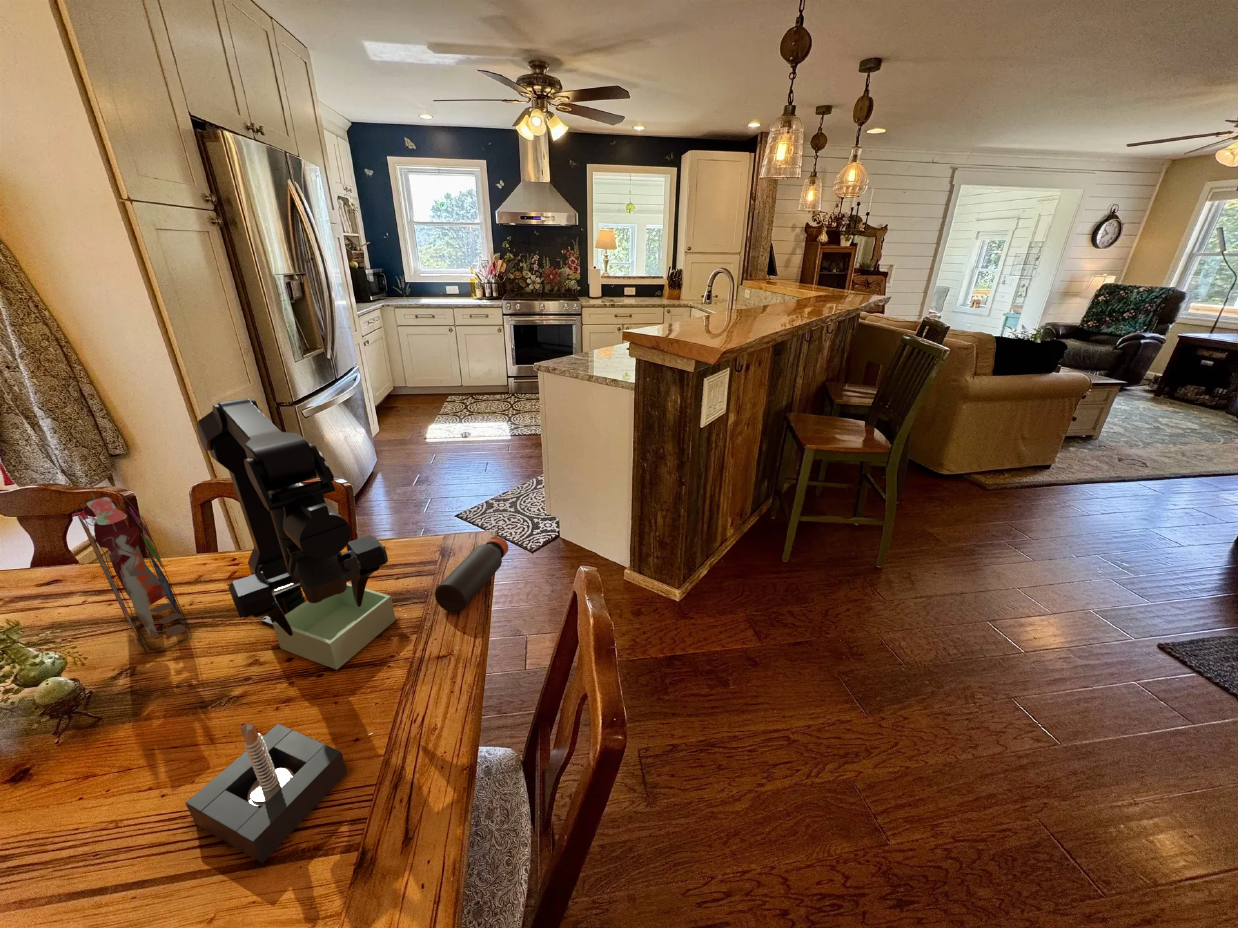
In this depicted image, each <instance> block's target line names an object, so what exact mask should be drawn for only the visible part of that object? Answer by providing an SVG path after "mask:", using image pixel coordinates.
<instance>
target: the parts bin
mask: <svg viewBox="0 0 1238 928" xmlns="http://www.w3.org/2000/svg"><path fill="white" fill-rule="evenodd" d="M285 617H286V619H287V621H288V623H289V625H290V627H291V629H292V632H293V635H292V636H289V635H288V634H287V633H286V632H285V631H284V630H283V629H282V628H281V627H280V626H279V625H278V624H277V623H276V622H274V623H272V624H273V626H272V627H273V630H274V633H275V635H276V639H277V642H278V645H279V648H280V650H284V651H286V652H289V653H291V654H294V655H296V656H299V657H302V658H305V659H307V660H310V661H312V662H315V663H318V664H319V665H320V664H321V665H323V666H325V667H328V668H331V669H333V670H339V669H340V668H341V667H342V666H343V665H344V664H345V663H348V661H350V660H351V659H352V658H353V657H354V656H355V655H356V654H357V653H359V652H360V651H361V650H362V649H363V648H364V647H366V646H367V645H368V644H370V642H372V641H373V640H374V639H375V638H376V637H378V635H380V634H381V633H383V632H384V631H385V630H386V629H387V628H389V626H390V625H392V624H393V623H394V622H395V621H396V619H397V618H396V614H395V610H394V605H393V599H392V596H391V595H389V594H385V593H381V592H379V591H375V590H373V589H369V588H366V587H365V591H364V595H363V600H362V604H361V606H360V607H358V606H357V605H356V602H355V599H354V596H353V590H352V584H351V583H349V582H347V589H346V590H345V591H344V592H343V593H341V594H336V595H333V596H331V597H328V598H326V599H323V600H322V601H321V602H318V603H310V602H308V601H307V600H305V602H304V603H302V604H301V605H299V606H298V607H296V608H295V609H293V610H292V611H290V612H289V613H287V614H286V615H285Z"/></svg>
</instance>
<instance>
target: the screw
mask: <svg viewBox="0 0 1238 928" xmlns="http://www.w3.org/2000/svg"><path fill="white" fill-rule="evenodd" d="M240 730H241V733H242V735H243V738H244V740H245V742H244V745H243V746H244V749H245V751H247V754H248V757H249V758H250V759H249V760H250V761H251V764H252V767H253V768H254V769H253V770H254V771H255V774H256V777H257V780H256V781H255V782H254V784H253V785H252V786H251V788H250V790H249V792H248V799H247V802H249V803H251V804H253V805H255V806H257V807H258V808H261V807H262V806H263V805H264V804H265V803H266V802H267V801H268V800H269V799H270V798H271V797H272V796H273V795H274V794H275V793H276V792H277V791H278V790H279V789H280V788H281V787H282V786H284V785H285V784H286V783H287V782H288V781H289V780H290V779H291V778H292V777H293V776H294V775H295V774H293V772H292V771H291V770H290V769H288V768H277V769H275V768H274V765H273V763H272V760H271V757H270V755H269V752H268V750H267V747H266V744H265V741H264V740H263V736H262V734H261V733H259V732H258V730H257V728H256V725H255V724H254V723H253V724H252V723H251V724H250V723H249V722H247V723H245V724H243V725H242V726H241V727H240Z"/></svg>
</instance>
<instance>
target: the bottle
mask: <svg viewBox="0 0 1238 928" xmlns="http://www.w3.org/2000/svg"><path fill="white" fill-rule="evenodd" d="M508 552H509V544H508V542H507V541H506V539H504V538H503V537H501V536H497V535H496V536H492V537H491V538H490V539H489V540H488V541H487V542H486V543H484V544H479V545H477V546H476V547H475V548H474V549H473V550H472V551H471V552H470V553H469V554H468V555H467V556H466V557H465V558H464V559H463V560H462V561H461V562H460V563H459V564H458V565H457V566H456V567H455V568H454V569H453V570H452V571H451V572H450V573H449V574H448V575H447V576H446V577H445V578H444V579H443V581H442V582H441V583H439V584H438V586H437V587H436V588H435V591H434V599H435V601H436V604H437V605H438V606H439V607H440V608H442V609H443V610H444V611H446V612H447V613H451V614H460V613H462V612H464V611H465V609H466V608H467V607H468V606H469V605H470V603H472V601H473V600H474V599H475V598H476V596H477V595H478V594H479V593H480V592H481V591H482V589H483V588H484V587H485V586H486V585H487V583H488V582H490V580H491V579H492V577H493V576H495V574H496V573H497V572H498V570H500V568H501V567H502V563H503V558H504V557H505V556H506V555H507V553H508Z"/></svg>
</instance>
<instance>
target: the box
mask: <svg viewBox="0 0 1238 928" xmlns="http://www.w3.org/2000/svg"><path fill="white" fill-rule="evenodd" d="M90 494H91V496H92V498H89V499H86V500H84V501H82V502H80V503H79V504H78V508H79V510H80V512H81V515H82V517H83V518H82V517H81V515H80V514H79V512H78V510H77V509H76V507H75V506H73V509H74V511H75V513H76V516H77V518H78V520H79V522H80V524H81V526H82V528H83V530H84V532H85V534H86V537H87V539H88V542H89V543H90V546H91V547H92V550H93V551H94V553H95V555H96V558H97V560H98V562H99V564H100V567H101V569H102V570H103V573H104V575H105V577H106V579H107V582H108V585H109V586H110V588H111V590H112V592H113V594H114V596H115V599H116V601H117V603H118V605H119V607H120V609H121V611H122V614H123V616H124V617H125V619H126V621H127V623H128V624H129V626H130V628H131V629H132V631H133V633H134V634H135V636H136V639H138V641H139V643H140V645H141V647H142V649H143V650H144V652H145V653H146V654H147V649H146V648H145V646H146V647H148V649H149V650H151V651H155V652H159V653H161V652H163V651H166V650H168V649H170V648H172V647H174V646H176V645H178V644H180V643H182V642H184V641H188V640H190V639H192V638H193V635H192V632H191V629H190V627H189V625H188V622H187V619H186V617H185V614H184V612H183V610H182V606H181V604H180V602H179V600H178V597H177V594H176V593H175V590H174V588H173V585H172V583H171V581H170V578H169V576H168V573H167V570H166V568H165V566H164V564H163V561H162V559H161V556H160V554H159V552H158V550H157V547H156V545H155V542H154V540H153V538H152V535H151V532H150V530H149V527H148V525H147V523H146V522H145V520H144V518H143V517H142V516H141V514H140V513H139V512H138V511H137V510H136V508H135V507H134V506H133V505H132V503H131V502H130V501H129V500H128V499H127V497H125V496H123V495H122V497H123V500H122V498H121V495H119V493H115V492H111V493H110V495H109V493H107V494H103V495H99V496H95V495H94V494H93V492H92V491H90ZM113 495H115V496H116V501H114V500H112V498H110V497H112V496H113ZM119 499H120V502H119ZM123 501H124V503H125V505H126V507H125V506H124V505H123ZM126 501H127V502H128V503H129V504H130V505H128V504H127V502H126ZM84 503H86V505H85V507H84ZM80 505H82V506H81V507H82V509H81V507H80ZM118 506H119V507H120V509H121V510H119V508H118ZM82 510H83V511H82ZM125 510H126V511H127V512H128V514H129V515H130V518H129V517H128V515H127V513H126V512H125ZM85 515H86V516H87V517H90V518H96V519H95V520H96V522H95V523H94V524H90V523H89V521H87V519H86V517H85ZM126 518H127V519H126ZM125 519H126V520H125ZM130 519H131V520H132V522H131V520H130ZM127 521H128V522H129V523H130V524H129V525H128V524H127V523H126V522H127ZM132 523H133V524H132ZM89 525H90V526H92V527H93V532H94V533H93V534H94V535H93V534H92V532H91V531H90V527H89ZM136 525H138V526H136ZM130 526H131V527H130ZM133 526H134V527H133ZM139 528H140V529H141V532H140V529H139ZM144 534H145V535H146V536H147V537H148V538H147V537H146V536H144ZM140 541H141V542H140ZM141 544H142V547H143V548H144V551H145V554H146V556H147V558H148V561H149V563H150V566H151V568H152V570H153V571H152V570H151V569H150V568H149V567H148V565H147V564H146V561H145V559H144V555H143V552H142V547H141ZM100 549H101V551H102V552H103V555H104V557H105V559H104V557H103V555H102V553H101V551H100ZM104 549H108V551H109V552H110V553H109V554H108V558H109V560H110V562H111V565H112V568H113V570H114V573H115V574H116V577H117V578H116V579H115V577H114V575H113V571H112V570H111V568H110V566H109V562H108V558H107V555H106V552H105V551H104ZM105 560H106V562H105ZM163 570H164V572H165V573H164V572H163ZM117 580H119V581H117ZM119 583H120V585H121V586H122V588H123V590H124V592H125V593H126V595H127V597H128V598H129V599H130V600H131V603H132V607H133V609H134V610H133V609H131V606H130V604H129V601H128V600H127V599H126V597H125V596H124V594H123V592H122V590H121V587H120V585H119ZM164 598H165V599H166V601H167V602H166V603H164V604H160V605H158V606H155V607H153V608H151V606H152V605H154V604H155V603H157V602H159V601H161V600H162V599H164ZM128 609H129V611H130V612H129V611H128ZM168 610H172V612H173V613H171V614H170V613H169V614H168V615H166V616H163V617H162V618H160V619H159V620H158V621H159V623H160V624H167V623H169V622H172V621H175V620H179V622H180V624H175V625H173V626H170V627H168V628H165V634H166V636H168V637H174V636H178V635H181V634H182V633H184V632H186V639H183V640H178V641H175V642H171V643H169V644H166V645H163V646H159V647H155V648H152V647H151V646H149V643H148V641H147V640H146V638H145V636H144V635H143V633H142V632H141V630H140V629H139V627H138V624H137V622H136V621H137V620H136V619H137V618H138V620H139V621H140V622H141V623H142V625H143V628H145V631H146V632H147V634H148V636H149V637H150V638H158V637H160V635H159V632H158V631H157V629H156V627H155V623H154V619H153V616H152V613H154V614H158V613H163V612H166V611H168ZM133 612H135V614H136V617H134V615H133ZM183 619H184V621H185V622H184V621H183ZM185 623H186V624H185ZM186 629H187V630H188V631H189V634H188V631H187V630H186ZM188 635H190V636H191V637H189V636H188ZM141 637H142V638H143V639H144V642H145V643H144V642H143V641H142V638H141ZM188 637H189V638H188ZM187 638H188V639H187ZM172 644H173V645H172ZM169 645H170V646H169ZM167 646H169V647H167ZM165 647H167V648H165ZM161 648H165V649H162V650H157V649H161Z"/></svg>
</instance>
